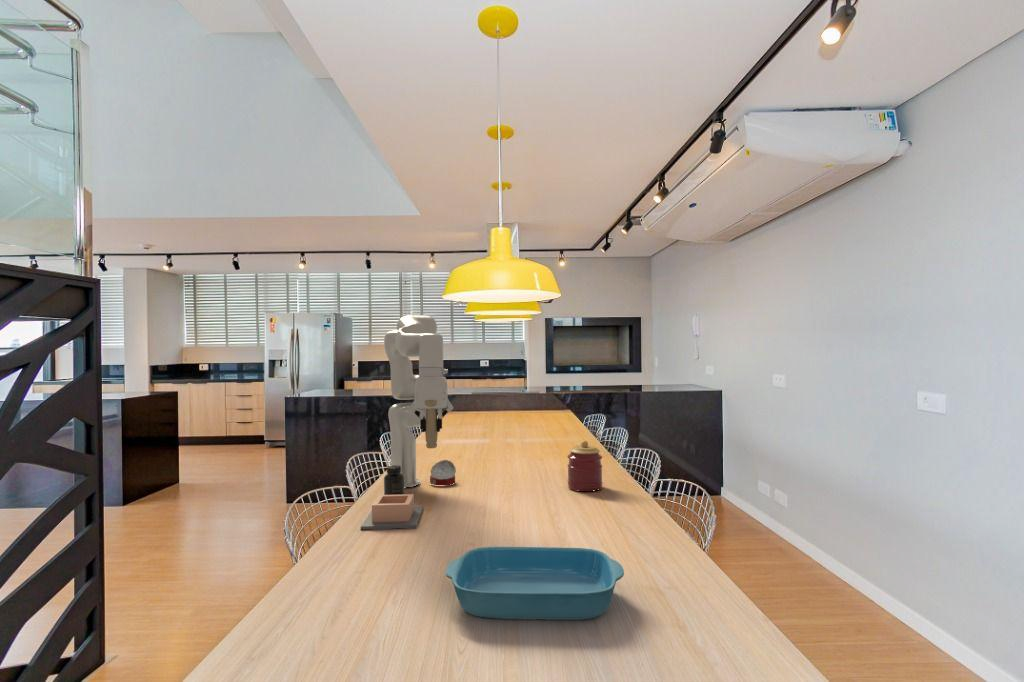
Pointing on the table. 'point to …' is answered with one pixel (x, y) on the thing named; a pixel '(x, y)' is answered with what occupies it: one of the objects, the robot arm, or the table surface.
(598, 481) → the canister
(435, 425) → the handle
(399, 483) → the supplement bottle
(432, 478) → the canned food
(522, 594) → the casserole dish
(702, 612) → the table surface
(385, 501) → the socket
